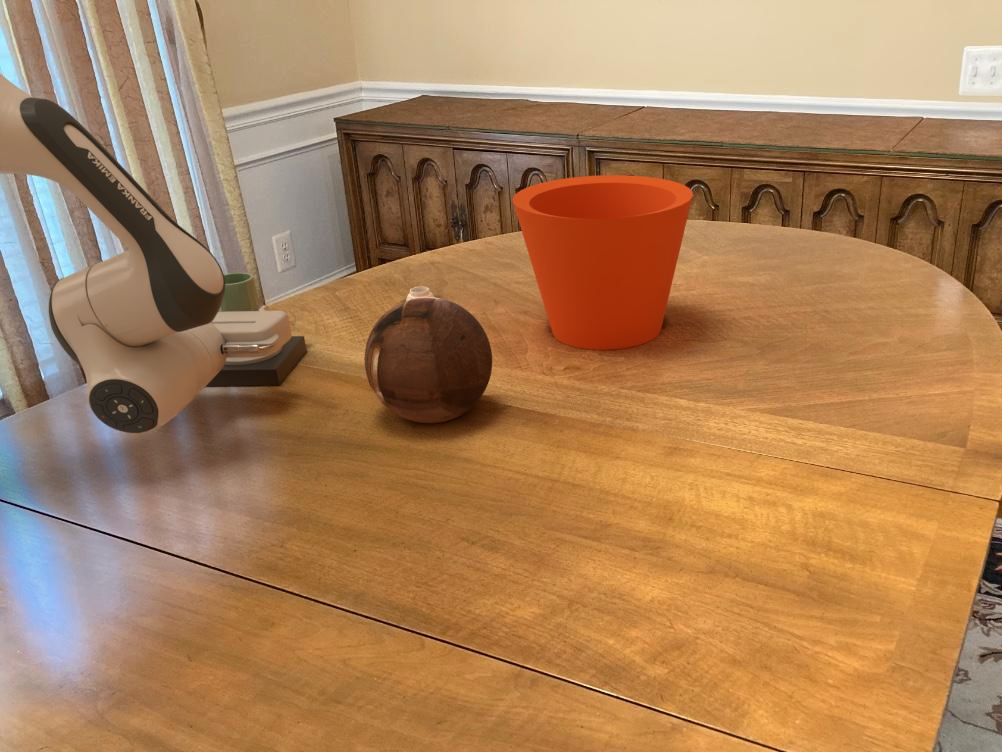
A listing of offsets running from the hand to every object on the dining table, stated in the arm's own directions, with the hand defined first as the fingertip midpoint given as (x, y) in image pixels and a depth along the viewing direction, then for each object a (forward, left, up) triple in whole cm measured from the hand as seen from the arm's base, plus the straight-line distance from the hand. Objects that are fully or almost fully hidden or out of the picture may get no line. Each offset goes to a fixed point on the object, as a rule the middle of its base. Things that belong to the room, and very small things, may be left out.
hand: (228, 311), depth 129 cm
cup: (0, +3, -6) cm, 7 cm away
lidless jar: (+19, +27, -10) cm, 34 cm away
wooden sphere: (+29, -13, -10) cm, 33 cm away
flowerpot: (+49, +16, -10) cm, 52 cm away
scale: (0, +3, -9) cm, 10 cm away
